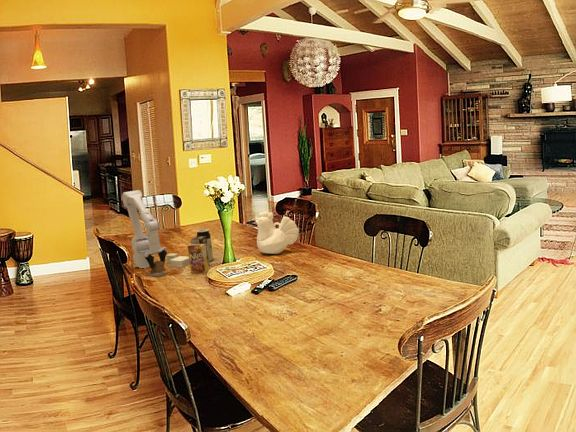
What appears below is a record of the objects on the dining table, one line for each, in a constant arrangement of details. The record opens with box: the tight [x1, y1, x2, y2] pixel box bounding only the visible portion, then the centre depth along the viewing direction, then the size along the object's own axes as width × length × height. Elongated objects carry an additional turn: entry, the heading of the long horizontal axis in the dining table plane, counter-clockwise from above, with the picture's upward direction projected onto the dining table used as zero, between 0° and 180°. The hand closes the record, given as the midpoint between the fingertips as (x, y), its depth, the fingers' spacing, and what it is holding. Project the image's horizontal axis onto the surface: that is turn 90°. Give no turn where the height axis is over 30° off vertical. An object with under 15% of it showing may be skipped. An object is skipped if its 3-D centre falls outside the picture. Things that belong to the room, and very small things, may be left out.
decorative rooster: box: [254, 210, 300, 255], centre depth 314 cm, size 25×16×25 cm, turn 67°
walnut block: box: [150, 260, 165, 273], centre depth 300 cm, size 5×5×5 cm
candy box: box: [187, 243, 209, 274], centre depth 289 cm, size 9×4×15 cm, turn 73°
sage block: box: [165, 252, 179, 265], centre depth 316 cm, size 5×5×5 cm
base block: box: [169, 255, 190, 268], centre depth 309 cm, size 9×9×4 cm
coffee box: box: [190, 236, 210, 265], centre depth 301 cm, size 9×6×16 cm
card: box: [145, 271, 169, 278], centre depth 292 cm, size 10×7×1 cm
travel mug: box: [195, 228, 214, 262], centre depth 313 cm, size 8×8×18 cm
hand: (157, 266), depth 300 cm, fingers open, 7 cm apart
